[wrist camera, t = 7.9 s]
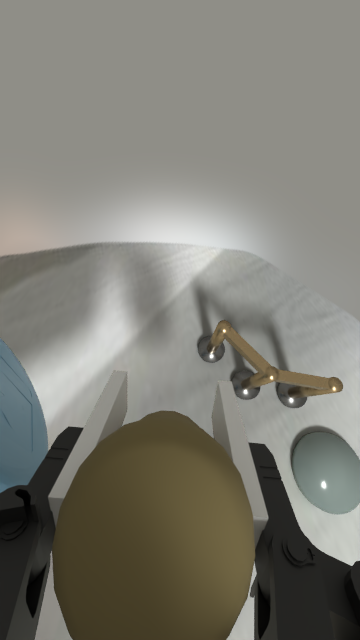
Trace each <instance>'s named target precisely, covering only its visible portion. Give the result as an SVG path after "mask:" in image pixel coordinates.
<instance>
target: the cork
mask: <svg viewBox="0 0 360 640" xmlns="http://www.w3.org/2000/svg"><path fill="white" fill-rule="evenodd" d="M52 557H53V576H54V591H55V594H56V597H57V600H58V603H59V605H60V608H61V611H62V614H63V617H64V620H65V623H66V626H67V629H68V632H69V634H70V636H71V638H72V639H73V640H226V639H227V638H228V636H229V635H230V632H231V630H232V628H233V626H234V624H235V622H236V620H237V618H238V616H239V614H240V612H241V610H242V608H243V606H244V604H245V601H246V599H247V597H248V592H249V587H250V581H251V576H252V571H253V565H254V560H255V542H254V525H253V514H252V509H251V505H250V502H249V499H248V496H247V493H246V490H245V486H244V483H243V480H242V477H241V474H240V472H239V471H238V469H237V468H236V466H235V464H234V463H233V461H232V460H231V458H230V457H229V455H228V454H227V452H226V450H225V449H224V447H223V446H221V445H220V444H219V443H218V442H217V441H216V440H214V439H213V438H212V437H211V436H210V435H209V434H207V433H206V432H205V431H204V430H203V429H201V428H199V426H198V425H197V424H196V423H194V422H193V421H192V420H191V419H190V418H189V417H187V416H185V415H182V414H180V413H178V412H175V411H159V412H155V413H152V414H148V415H147V416H145V417H144V418H142V419H141V420H139V421H136V422H133V423H129V424H126V425H124V426H122V427H121V428H119V429H118V430H116V431H115V432H113V433H112V434H110V435H109V436H108V437H106V438H105V439H103V440H102V441H100V442H99V444H98V445H97V446H96V447H95V448H94V450H93V451H92V452H91V453H90V454H89V456H88V457H87V458H86V459H85V460H84V462H83V463H82V464H81V465H80V466H79V468H78V470H77V472H76V474H75V476H74V479H73V481H72V483H71V485H70V487H69V489H68V491H67V493H66V496H65V498H64V500H63V502H62V504H61V506H60V510H59V515H58V520H57V525H56V530H55V535H54V540H53V545H52Z"/></svg>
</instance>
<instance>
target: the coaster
mask: <svg viewBox="0 0 360 640" xmlns="http://www.w3.org/2000/svg"><path fill="white" fill-rule="evenodd" d="M292 470H293V475H294V478H295V481H296V483H297V485H298V487H299V489H300V491H301V492H302V494H303V495H304V496H305V497H306V498H307V499H308V500H309V501H310V502H311V503H312V504H313V505H315V506H316V507H318V508H319V509H321V510H323V511H325V512H328V513H331V514H344V513H348V512H350V511H352V510H353V509H355V508H356V507H357V506H358V504H359V503H360V460H359V458H358V456H357V455H356V453H355V452H354V450H353V449H352V448H351V447H350V446H349V445H348V444H347V443H346V442H345V441H344V440H342V439H341V438H339V437H337V436H336V435H333V434H330V433H325V432H313V433H309V434H307V435H305V436H304V437H302V438H301V439H300V440H299V442H298V443H297V445H296V446H295V449H294V452H293V456H292Z"/></svg>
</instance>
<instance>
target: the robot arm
mask: <svg viewBox="0 0 360 640" xmlns="http://www.w3.org/2000/svg"><path fill="white" fill-rule="evenodd" d="M126 412H127V372H124V371H113V373H112V375H111V377H110V379H109V381H108V383H107V385H106V386H105V388H104V390H103V392H102V394H101V396H100V398H99V400H98V402H97V404H96V406H95V408H94V410H93V411H92V413H91V415H90V417H89V419H88V421H87V423H86V425H85V427H84V428H79V427H68V428H66V429H65V430H64V431H63V432H62V433H61V434H60V435H58V437H57V438H56V440H55V441H54V443H53V445H52V446H51V449H49V451H48V436H47V428H46V423H45V419H44V415H43V411H42V408H41V405H40V402H39V399H38V396H37V394H36V392H35V390H34V387H33V385H32V383H31V381H30V379H29V377H28V375H27V373H26V372H25V370H24V368H23V367H22V365H21V363H20V362H19V361H18V359H17V358H16V356H15V355H14V353H13V352H12V351H11V350H10V348H9V347H8V346H7V345H6V344H5V343H4V341H3V340H2V339H1V338H0V640H34V639H35V635H36V630H37V625H38V620H39V616H40V611H41V606H42V601H43V597H44V592H45V587H46V582H47V578H48V573H49V568H50V553H51V551H52V545H53V540H54V535H55V530H56V525H57V520H58V515H59V510H60V506H61V504H62V502H63V500H64V498H65V496H66V493H67V491H68V489H69V487H70V485H71V483H72V481H73V479H74V476H75V474H76V472H77V470H78V468H79V466H80V465H81V464H82V463H83V462H84V460H85V459H86V458H87V457H88V456H89V454H90V453H91V452H92V451H93V450H94V448H95V447H96V446H97V445H98V444H99V442H100V441H102V440H103V439H105V438H106V437H108V436H109V435H110V434H112V433H113V432H115V431H116V430H118V429H119V428H121V427H122V424H123V421H124V418H125V415H126ZM212 425H213V434H214V440H216V441H217V442H218V443H219V444H220V445H221V446H223V447H224V449H225V450H226V452H227V454H228V455H229V457H230V458H231V460H232V461H233V463H234V464H235V466H236V468H237V469H238V471H239V472H240V474H241V477H242V480H243V483H244V486H245V490H246V493H247V496H248V499H249V502H250V505H251V509H252V514H253V525H254V542H255V560H254V561H255V566H256V572H257V575H256V577H255V580H254V582H253V585H252V587H251V592H250V596H251V597H254V595H255V600H254V640H360V561H356V562H355V563H354V565H353V566H350V565H348V564H346V563H344V562H342V561H340V560H337V559H335V558H333V557H331V556H329V555H327V554H325V553H324V552H322V551H320V550H319V549H317V548H316V547H315V546H314V545H313V544H312V543H311V542H310V540H309V539H308V538H307V537H306V536H305V535H304V534H303V532H302V531H301V529H300V527H299V525H298V522H297V520H296V517H295V514H294V512H293V509H292V506H291V503H290V501H289V498H288V495H287V492H286V490H285V487H284V484H283V481H282V480H281V476H280V473H279V470H278V469H277V465H276V462H275V459H274V457H273V455H272V453H271V452H270V451H269V449H268V448H267V447H266V446H265V444H258V443H248V440H247V436H246V433H245V429H244V425H243V422H242V418H241V414H240V411H239V407H238V403H237V399H236V396H235V392H234V388H233V385H232V381H221V380H218V384H217V390H216V395H215V401H214V406H213V412H212Z"/></svg>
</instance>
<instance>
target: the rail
mask: <svg viewBox="0 0 360 640" xmlns="http://www.w3.org/2000/svg"><path fill="white" fill-rule="evenodd" d="M224 339H226V340H227V341H228V342H229V343H230V344H231V345H232V346H233V347H234V348H235V349H236V350H237V351H238V352H239V353H240V354H241V355H242V356H243V357H244V358H245V359H246V360H247V361H248V362H249V363H250V364H251V365H252V366H253V367H254V368H255V369H256V370H257V371H258V373H256V374H253V373H252V372H250V371H240V372H238V373H237V374H236V375H235V376H234V377H233V379H232V385H233V388H234V392H235V394H236V395H237V396H238V397H239V398H241V399H244V400H249V399H253V398H255V397H256V396H257V395H258V393H259V391H260V386H262V385H265V384H268V383H271V382H273V381H275V382H280V383H279V385H278V387H277V395H278V398H279V400H280V401H281V402H282V403H283V404H284V405H285V406H287V407H290V408H299V407H301V406H303V405H304V404H305V402H306V400H307V397H309V396H316V395H323V394H329V393H336V392H340V391H342V389H343V384H342V382H341V381H340V380H339V379H338V378H336V377H331V378H325V377H319V376H313V375H307V374H301V373H296V372H290V371H284V370H278V369H277V368H275V367H273V366H271V365H270V364H269V363H268V362H267V361H266V360H265V359H264V358H263V357H262V356H261V355H259V354H258V353H257V352H256V351H255V350H254V349H253V348H252V347H251V346H250V345H249V344H248V343H247V342H246V341H245V340H244V339H243V338H242V337H241V336H240V335H239V334H238V333H237V332H236V331H235V330H234V329H233V328H232V327H231V324H230V323H229V322H228V321H225V320H222V321H220V322H219V323H218V325H217V327H216V329H215V331H214V333H213V335H212V336H207V337H205V338H203V339H202V340H201V341H200V343H199V346H198V353H199V355H200V357H201V358H202V359H203V360H204V361H206V362H210V363H213V362H217V361H219V360H220V359H221V358H222V357H223V355H224V352H225V347H224V344H223V340H224Z"/></svg>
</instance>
